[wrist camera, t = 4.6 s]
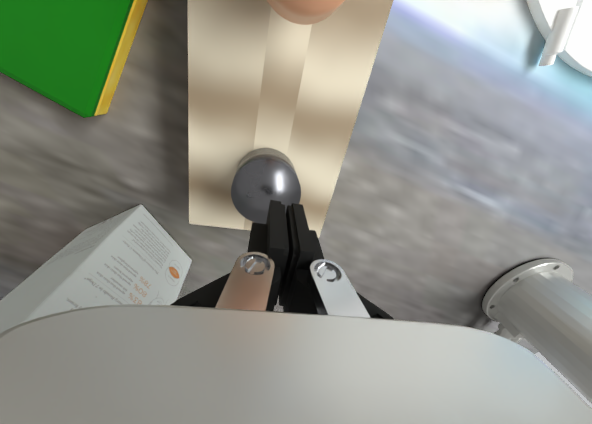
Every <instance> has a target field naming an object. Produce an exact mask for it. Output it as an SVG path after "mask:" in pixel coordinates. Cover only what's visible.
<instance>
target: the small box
mask: <svg viewBox="0 0 592 424" xmlns="http://www.w3.org/2000/svg"><path fill="white" fill-rule="evenodd" d="M191 263H192V260H191V259H190V258H189V257H188V256H187V254H186V253H185V252H184V251H183V250H182V249H181V248H180V247H179V245H178V244H177V243H176V242H175V241H174V240H173V239H172V238H171V236H170V235H169V234H168V233H167V232H166V231H165V230H164V229H163V228H162V226H161V225H160V224H159V223H158V222H157V221H156V220H155V219H154V218H153V216H152V215H151V214H150V213H149V212H148V211H147V210H146V209H145V208H144V206H143V205H138V206H136V207H134V208H132V209H129V210H127V211H125V212H123V213H121V214H118V215H116V216H114V217H112V218H110V219H107V220H105V221H103V222H101V223H98V224H96V225H94V226H92V227H89V228H87V229H86V230H84V231H83V232H82V233H80V234H79V235H78V236H77V237H76V238H74V239H73V240H72V241H71V242H70V243H69V244H67V245H66V246H65V247H64V248H62V249H61V250H60V251H59V252H58V253H56V254H55V255H54V256H53V257H52V258H50V259H49V260H48V261H47V262H45V263H44V264H43V265H42V266H41V267H40V268H38V269H37V270H36V271H35V272H34V273H33V274H31V275H30V276H29V277H28V278H27V279H25V280H24V281H23V282H22V283H21V284H20V285H18V286H17V287H16V288H15V289H14V290H12V291H11V292H10V293H9V294H7V295H6V296H5V297H4V298H3V299H2V300H0V333H2V332H3V331H5V330H7V329H10V328H12V327H14V326H17V325H19V324H21V323H24V322H27V321H30V320H33V319H36V318H39V317H43V316H47V315H50V314H54V313H59V312H64V311H69V310H74V309H78V308H85V307H94V306H103V305H121V304H140V305H171V304H172V303H174V302H175V301H176V300H177V298H178V295H179V293H180V290H181V288H182V285H183V283H184V280H185V278H186V275H187V273H188V270H189V268H190V265H191Z"/></svg>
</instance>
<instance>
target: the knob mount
mask: <svg viewBox="0 0 592 424" xmlns="http://www.w3.org/2000/svg"><path fill="white" fill-rule="evenodd" d="M392 3H393V0H345V1H344V2H343V3H342V4H341V5H340V6H339V7H338V8H337V9H336V10H335V11H334V12H333V13H332V14H331V15H330V16H329V17H327V18H326V19H324V20H322V21H320V22H318V23H315V24H310V25H300V24H295V23H292V22H290V21H288V20H286V19H284V18H283V17H281V16H280V15H279V14H277V12H276V11H275V10H274V9H273V8H272V7H271V6H270V4H269V3H268V2H267V0H188V137H189V224H196V225H205V226H215V227H224V228H233V229H242V230H251V227H252V221H250V220H248V219H246V218H245V217H243V216H242V215H241V214H240V213H239V212H238V211H237V209H236V208H235V206H234V204H233V202H232V198H231V186H232V182H233V179H234V176H235V173H236V170H237V167H238V164H239V162H240V161H241V159H242V158H243V157H244V156H245V155H246V154H247V153H249V152H251V151H253V150H255V149H259V148H272V149H276V150H278V151H280V152H282V153H283V154H285V155H286V156H287V157H288V158H289V159H290V160H291V162H292V164H293V166H294V168H295V171H296V174H297V177H298V180H299V183H300V186H301V199H300V202H299V204H302V205H303V208H304V211H305V215H306V219H307V223H308V227H309V230H315V231H316V233H317V237H318V238H319V236H320V233H321V230H322V227H323V223H324V220H325V217H326V214H327V211H328V207H329V204H330V201H331V198H332V195H333V191H334V188H335V185H336V182H337V179H338V175H339V172H340V169H341V166H342V163H343V159H344V156H345V153H346V150H347V147H348V143H349V140H350V137H351V134H352V131H353V127H354V124H355V121H356V118H357V115H358V112H359V108H360V105H361V102H362V99H363V96H364V92H365V89H366V86H367V83H368V80H369V76H370V73H371V70H372V67H373V64H374V60H375V57H376V54H377V51H378V48H379V44H380V41H381V38H382V35H383V32H384V28H385V25H386V22H387V19H388V16H389V12H390V9H391V6H392ZM254 223H255V222H254Z"/></svg>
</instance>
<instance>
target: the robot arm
mask: <svg viewBox="0 0 592 424" xmlns="http://www.w3.org/2000/svg"><path fill="white" fill-rule="evenodd" d="M572 280H573V270H572V269H571V267H570V266H568V265H567V264H565V263H564V262H562V261H560V260H557V259H540V260H535V261H532V262H528V263H526V264H523V265H521V266H519V267H517V268H515V269H513V270H511V271H510V272H508V273H507V274H505V275H504V276H502V277H501V278H500V279H499V280H497V281H496V282H495V283H494V284H493V285H492V286H491V287H490V289H489V290H488V291H487V293H486V295H485V297H484V299H483V303H482V309H483V311H484V313H485V314H486V315H487V316H488V317H489V318H490V319H492V320H494V321H497V322H500V324H499V325H498V328H499V330H498V331H497V332H494V333H490V332H487V331H483V330H480V329H476V328H471V327H466V326H460V325H451V324H442V323H432V322H419V321H406V320H394V319H393V318H392V317H391V316H390V315H388V314H387V313H386V312H384V311H383V310H381V309H380V308H378V307H377V306H375V305H374V304H373V303H371V302H370V301H368V300H367V299H365V298H364V297H362V296H361V295H360V294H358V293H357V292H356V291H355V290H354V288H353V286H352V284H351V283H350V281H349V279H348V277H347V276H346V274H345V272H344V271H343V269H342V268H341V267H340V266H339V265H337V264H336V263H334V262H332V261H329V260H324V257H323V253H322V250H321V247H320V243H319V240H318V237H317V233H316V231H315V230H309V227H308V223H307V219H306V215H305V211H304V208H303V205H302V204H295V203H292V204H291V206H290V205H288V206H287V209H286V212H285V205H283V204H281V201H275V200H270V204H269V210H268V215H267V221H266V224H262V223H254V222H252V227H251V233H250V240H249V246H248V253H245V254H242V255H241V256H239V257H238V259H237V260H236V262H235V265H234V267H233V269H232V271H231V273H229V274H227V275H225V276H223V277H221V278H219V279H217V280H215V281H213V282H211V283H209V284H207V285H205V286H203V287H201V288H200V289H198V290H196V291H194V292H192V293H190V294H188V295H186V296H184V297H182V298H180V299H178V300H177V301H175V302H174V303H172V304H171V305H140V304H121V305H103V306H94V307H85V308H78V309H74V310H69V311H64V312H59V313H54V314H50V315H47V316H43V317H39V318H36V319H33V320H30V321H27V322H24V323H21V324H19V325H17V326H14V327H12V328H10V329H7V330H5V331H3V332H2V333H0V424H592V408H591V407H590V406H589V405H588V404H587V403H586V402H585V401H584V400H583V399H582V398H581V397H580V396H579V395H578V394H577V393H576V392H575V391H574V390H573V389H572V388H571V387H569V386H568V385H567V384H566V383H565V382H564V381H563V380H562V379H561V378H560V377H559V376H558V375H557V374H556V373H555V372H554V371H553V370H552V369H550V368H549V367H548V366H547V365H546V364H545V363H544V362H543V361H542V360H540V359H539V358H538V357H537V356H536V355H535V354H533V353H532V352H531V351H529V350H528V349H526V348H524V347H522V346H521V345H519V344H517V343H518V342H519V341H520V340H521V339H522V338H525V339H526V340H527V341H528V342H529V343H530V344H531V345H532V346H534V347H535V348H536V349H537V350H538V351H539V352H540V353H541V354H542V355H543V356H544V357H545V358H546V359H547V360H548V361H549V362H550V363H551V364H552V365H553V366H554V367H555V368H556V369H557V370H558V371H559V372H560V373H561V374H562V375H563V376H564V377H565V378H566V379H567V380H568V381H569V382H570V383H571V384H572V385H573V386H574V387H575V388H576V389H577V390H578V391H579V392H580V393H581V394H582V395H583V396H584V397H586V399H587V400H589V402H591V404H592V295H591V294H589V293H588V292H586V291H585V290H583V289H582V288H580V287H579V286H577V285H575V284H574V283H572ZM278 295H279V305H280V306H283V310H284V312H275V311H273V309H274V305H276V303H277V299H278Z"/></svg>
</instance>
